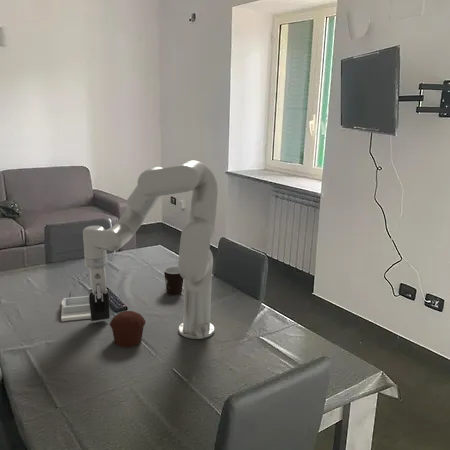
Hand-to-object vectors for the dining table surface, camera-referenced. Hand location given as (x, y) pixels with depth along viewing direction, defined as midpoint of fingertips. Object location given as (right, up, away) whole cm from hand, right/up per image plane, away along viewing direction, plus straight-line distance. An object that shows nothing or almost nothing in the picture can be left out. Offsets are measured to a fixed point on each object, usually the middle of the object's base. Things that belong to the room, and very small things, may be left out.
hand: (99, 308), depth 166 cm
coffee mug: (+24, +2, +31) cm, 39 cm away
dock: (-12, -1, +14) cm, 19 cm away
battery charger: (0, -4, +1) cm, 4 cm away
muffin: (+13, -9, -11) cm, 19 cm away
